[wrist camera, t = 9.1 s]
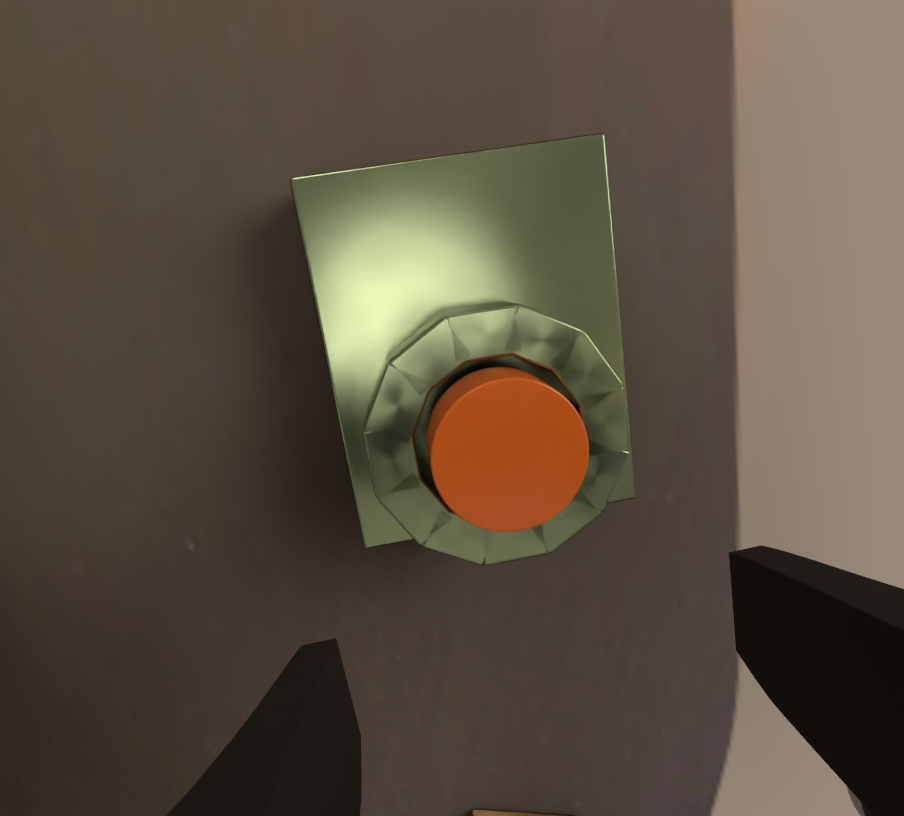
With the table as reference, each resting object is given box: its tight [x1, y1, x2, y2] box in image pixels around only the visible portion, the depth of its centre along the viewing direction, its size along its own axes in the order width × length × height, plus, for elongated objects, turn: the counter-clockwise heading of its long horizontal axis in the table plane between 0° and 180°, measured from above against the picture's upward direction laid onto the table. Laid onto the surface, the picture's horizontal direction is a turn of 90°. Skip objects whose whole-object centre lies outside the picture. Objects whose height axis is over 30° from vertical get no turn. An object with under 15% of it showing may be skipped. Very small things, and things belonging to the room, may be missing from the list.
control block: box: [290, 133, 636, 566], centre depth 16 cm, size 10×8×4 cm
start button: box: [426, 367, 589, 532], centre depth 14 cm, size 4×4×2 cm
